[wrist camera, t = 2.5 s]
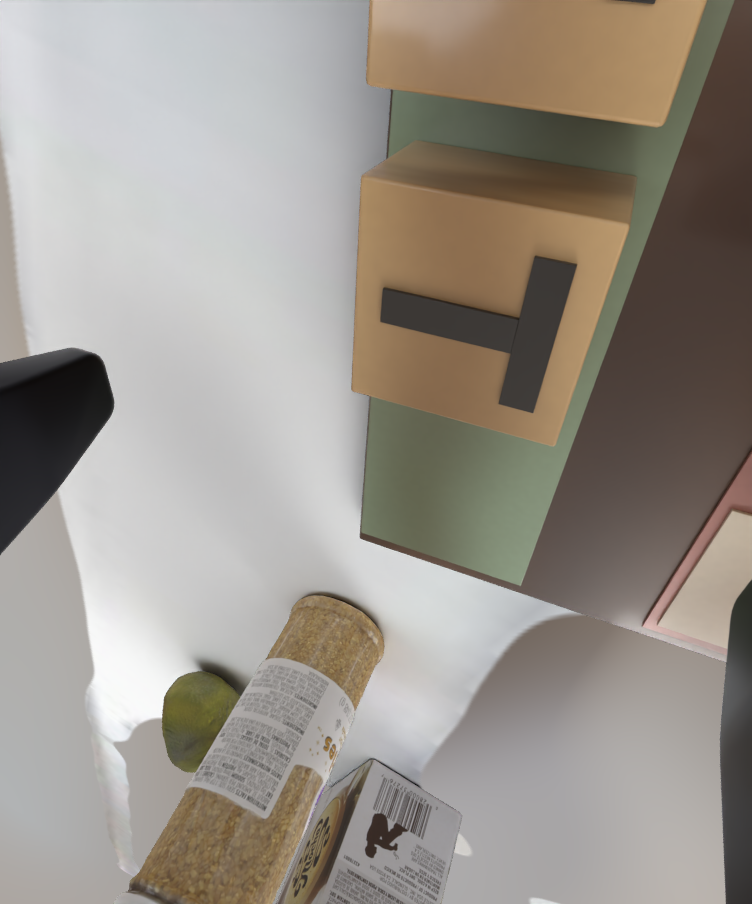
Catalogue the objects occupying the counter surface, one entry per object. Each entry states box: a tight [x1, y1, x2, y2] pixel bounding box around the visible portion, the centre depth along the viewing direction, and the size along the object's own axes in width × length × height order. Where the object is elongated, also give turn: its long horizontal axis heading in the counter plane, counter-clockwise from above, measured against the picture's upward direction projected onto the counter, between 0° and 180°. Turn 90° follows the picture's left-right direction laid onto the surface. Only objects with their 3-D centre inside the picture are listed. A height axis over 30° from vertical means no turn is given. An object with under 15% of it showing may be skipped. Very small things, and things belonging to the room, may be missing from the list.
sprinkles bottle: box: [113, 595, 384, 904], centre depth 21 cm, size 5×5×13 cm
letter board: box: [360, 0, 752, 662], centre depth 12 cm, size 15×22×1 cm
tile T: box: [351, 140, 637, 446], centre depth 12 cm, size 4×4×3 cm
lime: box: [162, 671, 240, 772], centre depth 32 cm, size 4×5×5 cm
